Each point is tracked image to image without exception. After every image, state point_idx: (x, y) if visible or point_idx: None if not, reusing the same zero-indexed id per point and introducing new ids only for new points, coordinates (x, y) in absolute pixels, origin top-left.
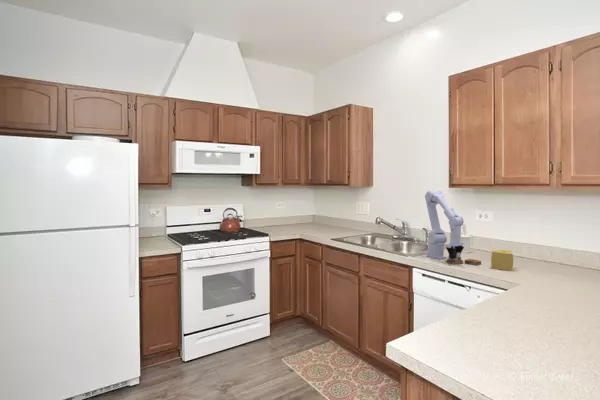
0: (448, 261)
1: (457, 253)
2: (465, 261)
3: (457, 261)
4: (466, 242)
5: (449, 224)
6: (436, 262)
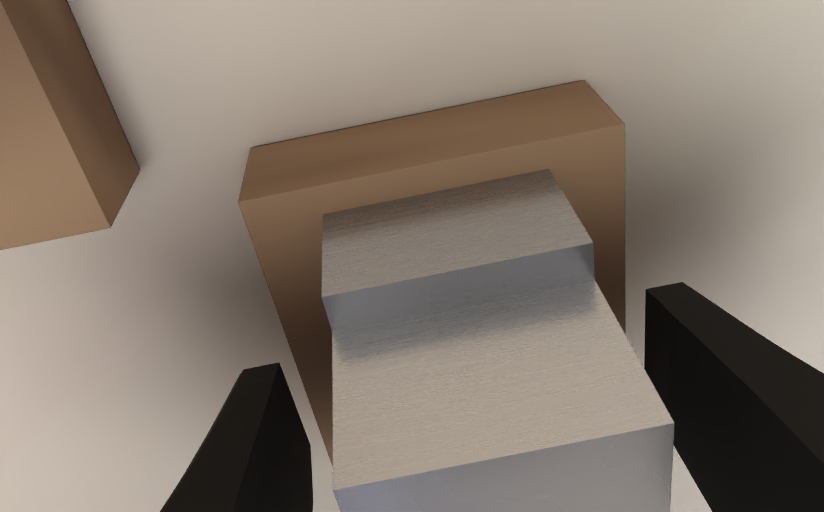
0: None
1: (612, 409)
2: (110, 168)
3: (617, 124)
4: None
5: None
6: None
